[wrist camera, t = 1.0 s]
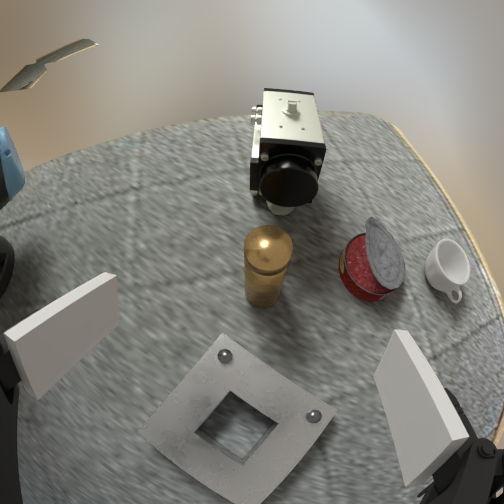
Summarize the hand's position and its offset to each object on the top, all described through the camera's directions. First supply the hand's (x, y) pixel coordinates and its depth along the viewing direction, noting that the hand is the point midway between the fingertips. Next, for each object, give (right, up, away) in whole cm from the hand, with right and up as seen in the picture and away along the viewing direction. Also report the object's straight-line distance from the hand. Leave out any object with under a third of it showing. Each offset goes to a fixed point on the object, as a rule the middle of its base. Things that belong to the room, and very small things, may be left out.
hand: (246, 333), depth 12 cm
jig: (-2, -17, +16) cm, 24 cm away
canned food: (+18, +1, +27) cm, 32 cm away
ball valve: (+4, +13, +33) cm, 36 cm away
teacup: (+31, -1, +26) cm, 40 cm away
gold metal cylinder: (+2, -2, +25) cm, 25 cm away
